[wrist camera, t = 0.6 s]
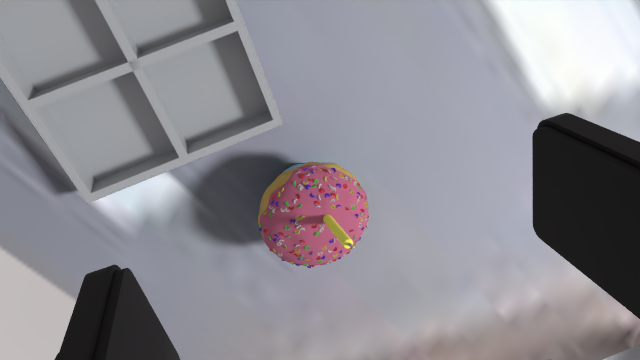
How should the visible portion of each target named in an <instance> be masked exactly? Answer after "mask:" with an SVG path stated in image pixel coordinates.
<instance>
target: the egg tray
mask: <svg viewBox="0 0 640 360" xmlns="http://www.w3.org/2000/svg"><path fill="white" fill-rule="evenodd" d="M0 78H1V80H2V81H3V82H4V84H5V85H6V87H7V88H8V90H9V91H10V93H11V94H12V95H13V97H14V98H15V100H16V101H17V103H18V104H19V106H20V107H21V108H22V110H23V111H24V113H25V114H26V116H27V117H28V119H29V120H30V121H31V123H32V124H33V126H34V127H35V129H36V130H37V131H38V133H39V134H40V136H41V137H42V139H43V140H44V142H45V143H46V144H47V146H48V147H49V149H50V150H51V152H52V153H53V155H54V156H55V157H56V159H57V160H58V162H59V163H60V165H61V166H62V168H63V169H64V170H65V172H66V173H67V175H68V176H69V178H70V179H71V181H72V182H73V183H74V185H75V186H76V188H77V189H78V191H79V192H80V194H81V195H82V196H83V198H84V199H85V201H86V202H87V204H88V203H90V202H92V201H95V200H97V199H100V198H102V197H105V196H107V195H110V194H112V193H115V192H117V191H120V190H122V189H125V188H127V187H130V186H132V185H135V184H137V183H140V182H142V181H144V180H147V179H149V178H152V177H154V176H157V175H159V174H162V173H164V172H167V171H169V170H172V169H174V168H177V167H179V166H182V165H184V164H187V163H189V162H191V161H194V160H196V159H199V158H201V157H204V156H206V155H209V154H211V153H214V152H216V151H219V150H221V149H224V148H226V147H229V146H231V145H234V144H236V143H239V142H241V141H243V140H246V139H248V138H251V137H253V136H256V135H258V134H261V133H263V132H266V131H268V130H271V129H273V128H276V127H278V126H281V125H283V124H284V123H283V121H282V118H281V115H280V113H279V110H278V108H277V105H276V103H275V100H274V97H273V95H272V92H271V90H270V87H269V85H268V82H267V79H266V77H265V74H264V72H263V69H262V66H261V64H260V61H259V59H258V56H257V54H256V51H255V48H254V46H253V43H252V41H251V38H250V36H249V33H248V30H247V28H246V25H245V23H244V20H243V18H242V15H241V12H240V10H239V7H238V5H237V2H236V0H0Z"/></svg>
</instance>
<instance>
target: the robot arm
mask: <svg viewBox="0 0 640 360" xmlns="http://www.w3.org/2000/svg"><path fill="white" fill-rule="evenodd" d="M533 227H534V230H535V232H536V234H537V236H538V237H539V238H540V239H541V240H542V241H544V242H545V243H546V244H547V245H549V246H550V247H551V248H552V249H553V250H555V251H556V252H557V253H558V254H560V255H561V256H562V257H563V258H565V259H566V260H567V261H568V262H570V263H571V264H572V265H573V266H575V267H576V268H577V269H578V270H580V271H581V272H582V273H583V274H585V275H586V276H587V277H588V278H590V279H591V280H592V281H593V282H594V283H596V284H597V285H598V286H599V287H601V288H602V289H603V290H604V291H606V292H607V293H608V294H609V295H611V296H612V297H613V298H614V299H616V300H617V301H618V302H619V303H621V304H622V305H623V306H624V307H626V308H627V309H628V310H629V311H631V312H632V313H633V314H634V315H635V316H637V317H638V318H639V319H640V142H638V141H635V140H633V139H631V138H628V137H626V136H623V135H621V134H618V133H616V132H614V131H611V130H609V129H606V128H604V127H601V126H599V125H597V124H594V123H592V122H589V121H587V120H584V119H582V118H579V117H577V116H575V115H572V114H569V113H564V114H560V115H557V116H554V117H551V118H548V119H546V120H543V121H541V122H540V123H539V125H538V127H537V129H536V130H535V131H534V133H533ZM55 360H180V358H179V355H178V353H177V351H176V350H175V348H174V346H173V344H172V342H171V341H170V339H169V337H168V335H167V334H166V332H165V330H164V328H163V326H162V325H161V323H160V321H159V319H158V318H157V316H156V314H155V312H154V310H153V309H152V307H151V305H150V303H149V302H148V300H147V298H146V296H145V294H144V293H143V291H142V289H141V287H140V285H139V284H138V282H137V280H136V278H135V277H134V275H133V273H132V272H131V270H130V269H129V268H125V269H122V270H121V268H120V267H118V266H117V265H112V266H109V267H106V268H103V269H100V270H97V271H94V272H91V273H88V274H86V276H85V278H84V280H83V283H82V286H81V289H80V292H79V295H78V298H77V301H76V304H75V307H74V310H73V313H72V316H71V319H70V322H69V325H68V328H67V331H66V334H65V337H64V340H63V343H62V346H61V349H60V352H59V353H58V355H57V356H56V358H55ZM603 360H640V345H638V346H635V347H633V348H630V349H628V350H625V351H623V352H620V353H618V354H615V355H613V356H610V357H608V358H605V359H603Z"/></svg>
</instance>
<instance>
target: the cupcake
mask: <svg viewBox="0 0 640 360" xmlns="http://www.w3.org/2000/svg"><path fill="white" fill-rule="evenodd" d="M367 198H368V197H367V196H366V193H365V191H364V189H363V188H362V187H361V185H360V184H359V182H358V180H357V179H356V178H355V177H354V176H353V175H352V174H351V173H350V172H349V171H347V170H346V169H344V168H342V167H341V166H339V165H337V164H335V163H317V162H308V163H306V164H297V165H293V166H291V167H289V168H287V169H286V170H285V171H283V172H282V173H281V174H280V175H279V176H278V177H277V178H276V179H275V180H274V182H273V183H272V184H271V185H270V186H269V187H268V188H267V189H266V190H265V192H264V194H263V197H262V200H261V204H260V211H259V215H258V224H259V228H260V231H261V234H262V237H263V239H264V241H265V243H266V245H267V246H268V247H269V249H270V251H272V252H274V253H275V254H276V255H277V256H278V257H280V258H281V259H283V260H282V261H284V260H285V261H287V262H290V264H296V265H297V266H299V265H303V266H307V267H308V266H309V267H308V268H311V267H314V266H316V265H327V264H329V263H332V261H336V260H337V259H340V258H341V257H342V256H344V255H346V254H348V253H349V252H350V250H351V249H354V248H355V247H356V246H355V245H356V244H357V243H358V242H359V241H360V240H361V239H360V238H361V235H362V234H363V232H364V230H365V227H367V228H368V225H367V222H368V217H369V216H368V202H367Z"/></svg>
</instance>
